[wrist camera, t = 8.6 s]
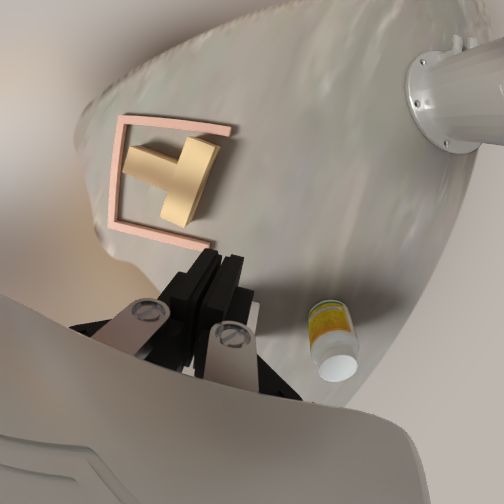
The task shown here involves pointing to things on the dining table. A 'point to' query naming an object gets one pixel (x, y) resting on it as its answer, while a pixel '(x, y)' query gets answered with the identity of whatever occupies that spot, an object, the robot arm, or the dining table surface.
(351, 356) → the supplement bottle
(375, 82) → the dining table surface
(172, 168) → the t block
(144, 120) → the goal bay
